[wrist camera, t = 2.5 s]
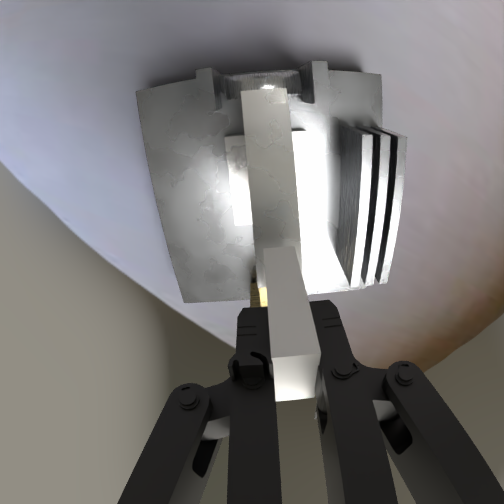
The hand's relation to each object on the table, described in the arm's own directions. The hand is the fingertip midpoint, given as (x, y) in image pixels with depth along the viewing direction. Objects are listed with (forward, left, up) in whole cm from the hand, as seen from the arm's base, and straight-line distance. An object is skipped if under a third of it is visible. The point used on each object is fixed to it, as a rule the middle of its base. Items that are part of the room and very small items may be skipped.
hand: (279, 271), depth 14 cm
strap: (-4, 0, -3) cm, 5 cm away
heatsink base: (-1, 0, -10) cm, 10 cm away
